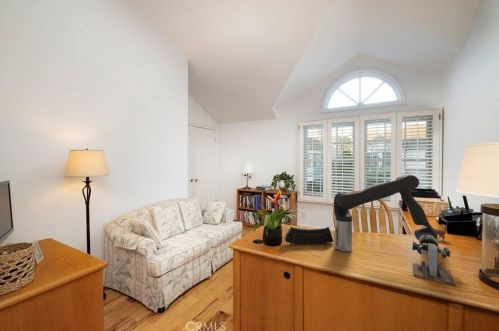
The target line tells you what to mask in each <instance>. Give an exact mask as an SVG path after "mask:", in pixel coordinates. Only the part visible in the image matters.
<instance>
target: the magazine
mask: <svg viewBox="0 0 499 331" xmlns="http://www.w3.org/2000/svg"><path fill="white" fill-rule="evenodd" d="M284 241H285V242H286V243H289V244H290V245H293V244H294V245H300V246H303V245H304V246H310V245H311V246H312V245H313V246H315V245H317V246H319V245H324V244H330V243H334V237H333V236H332V231H331V229H330V226H327V227H324V228H315V229H314V228H313V229H312V228H311V229H307V228H306V229H304V228H297V227H293V226H290V227H289V228H288V230H287V232H286V234H285V237H284Z"/></svg>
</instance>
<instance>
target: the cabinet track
mask: <svg viewBox="0 0 499 331" xmlns="http://www.w3.org/2000/svg"><path fill="white" fill-rule="evenodd" d="M412 272H413V277H414V278H420V279H424V280H428V281H432V282H436V283H441V284H444V285H449V286H453V287H456V285H457V284H456V281H455V279H454V277H453V274H452V272H451V271H450V270H448V269H443V267H442V265H441V264H439V263H437V277H435V276H431V275H429V271H428V265H427V263H426V261H425V260H420V263H416V262H415V263H414V262H412Z"/></svg>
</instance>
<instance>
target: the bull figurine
mask: <svg viewBox="0 0 499 331" xmlns="http://www.w3.org/2000/svg"><path fill="white" fill-rule="evenodd" d="M423 228H427V227H425V226H423V225H421V226H420V227H419V229H423ZM432 228H433V227H432ZM433 229H434V230H435V231H436V233H437V235H438V237H437V239H436V240H440V239H441V241H442V242H444V241H445V238H446V237H445V235H446V233H447V232H446V229H441V228H433Z"/></svg>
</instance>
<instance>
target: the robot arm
mask: <svg viewBox="0 0 499 331" xmlns="http://www.w3.org/2000/svg"><path fill="white" fill-rule="evenodd" d="M419 185H420V180H419V178H418V177H417V176H415V175H413V174H412V175H411V174H407V175H402V176H398V177H396V178H395V180H389V181H382V182H378V183H374V184H371V185H368V186H367V187H365V188H364V189H362V190H361V191H358V192H354V193H345V192H341V191H340V192H337V193H336V194H335V195H334V198H333V214H334V216H335V221H334V222H335V225H334V226H335V230H334V234H333V236H334V237H333V244H334V245H333V246H334V248H333V249H336V250H338V251H341V252H351V251H352V250H353V216H352V214H351V212H350V210H353V209H355V208H357V207H359V206H362V205H364V204H367V203H372V202H375V201H379V200H382V199H385V198H388V197H390V196H391V197H392V196H393V195H396V194H400V196H401V198H402V200H403V202H404V203H405V205H406V207H407V209H408V211H409V214H410V216H411V220H412V222H413V224H414V225H416V226H425V227H427V228H423V229H420V228H417V229H415V230H414V232H413V234H414V238H416V240H417V241H418V243H417V242H415V241H413V242H412V251H417V253H418V254H419V255H421V254H422V253H427V254H428V243H430V244H435V246H436V248H437V256H441V258H442V259H447V258H450V257H451V251H450V249H449V248H448V247H445V246H444V248H443V247H440V245H439V243H438V241H437V240H438V239H437V238H438V237H439V235H437V233H436V231H435V230H434V229H435V228H434V229H433V226H432V224H431V223H430V222H429V219H428V218H427V215H426V212H425V209H424V208H423V207H422V205H420V203H419V202H418V201H417V200H416V199H415V198H414V197H413V195H412V193H411V191H413V190H416V189H417V188H418V187H419Z"/></svg>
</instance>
